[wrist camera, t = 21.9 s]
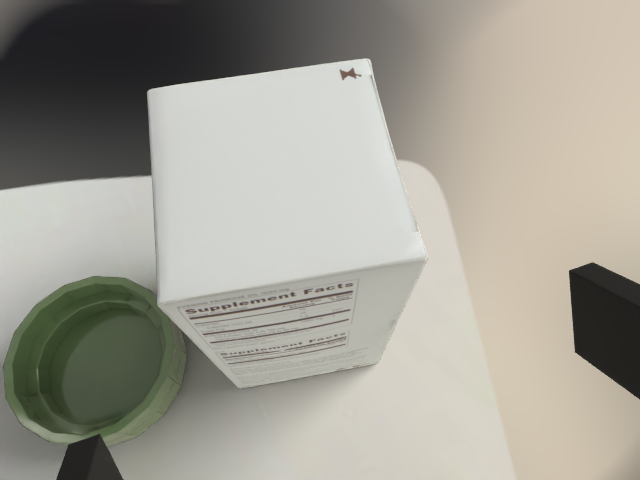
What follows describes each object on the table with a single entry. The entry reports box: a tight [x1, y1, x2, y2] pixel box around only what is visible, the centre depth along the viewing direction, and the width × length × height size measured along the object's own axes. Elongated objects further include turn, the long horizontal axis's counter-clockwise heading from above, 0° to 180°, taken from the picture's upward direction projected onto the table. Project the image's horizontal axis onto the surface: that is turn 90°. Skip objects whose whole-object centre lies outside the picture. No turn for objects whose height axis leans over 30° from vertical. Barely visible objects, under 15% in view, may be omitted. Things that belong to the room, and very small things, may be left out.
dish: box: [3, 276, 187, 447], centre depth 30 cm, size 9×9×4 cm
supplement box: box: [147, 59, 428, 388], centre depth 26 cm, size 10×9×17 cm
